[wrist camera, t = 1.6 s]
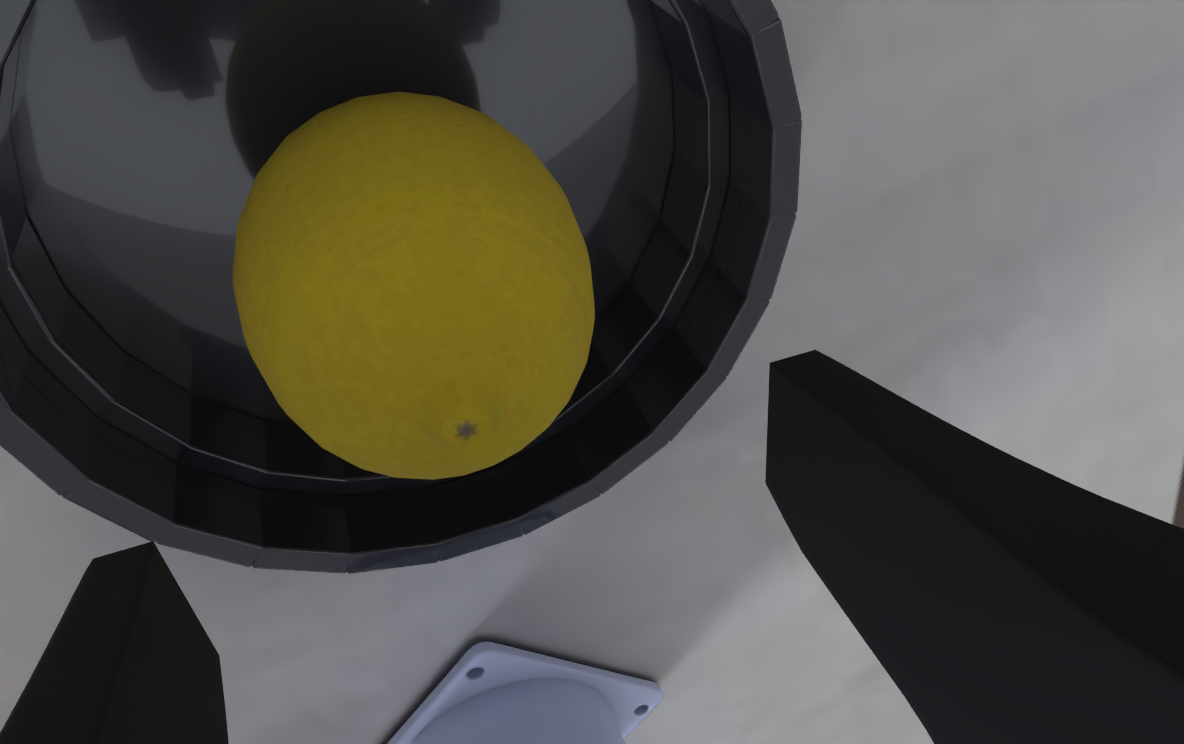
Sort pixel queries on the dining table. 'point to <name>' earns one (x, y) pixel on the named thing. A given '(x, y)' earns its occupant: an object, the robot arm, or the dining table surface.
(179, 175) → the pan
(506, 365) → the lemon
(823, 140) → the dining table surface
